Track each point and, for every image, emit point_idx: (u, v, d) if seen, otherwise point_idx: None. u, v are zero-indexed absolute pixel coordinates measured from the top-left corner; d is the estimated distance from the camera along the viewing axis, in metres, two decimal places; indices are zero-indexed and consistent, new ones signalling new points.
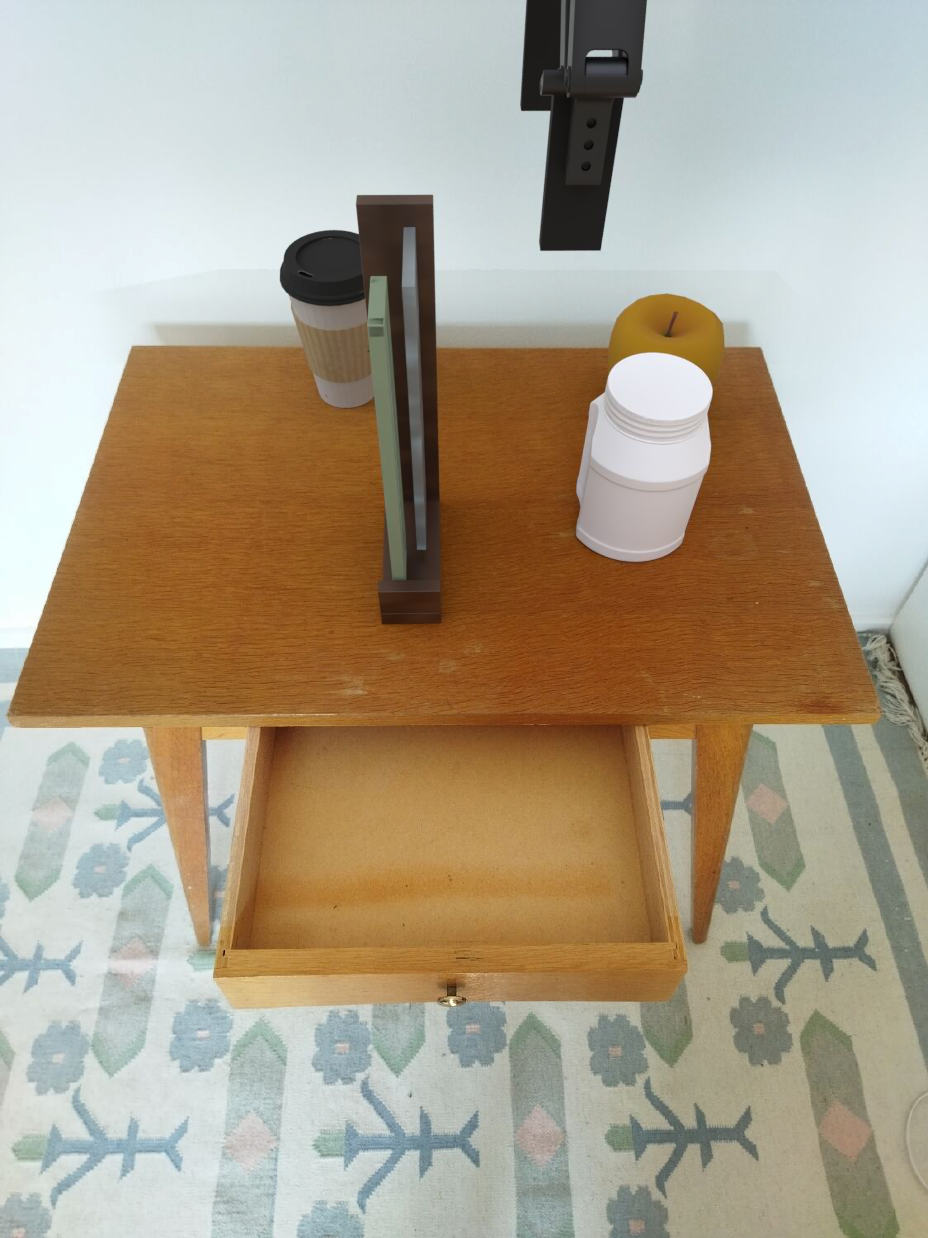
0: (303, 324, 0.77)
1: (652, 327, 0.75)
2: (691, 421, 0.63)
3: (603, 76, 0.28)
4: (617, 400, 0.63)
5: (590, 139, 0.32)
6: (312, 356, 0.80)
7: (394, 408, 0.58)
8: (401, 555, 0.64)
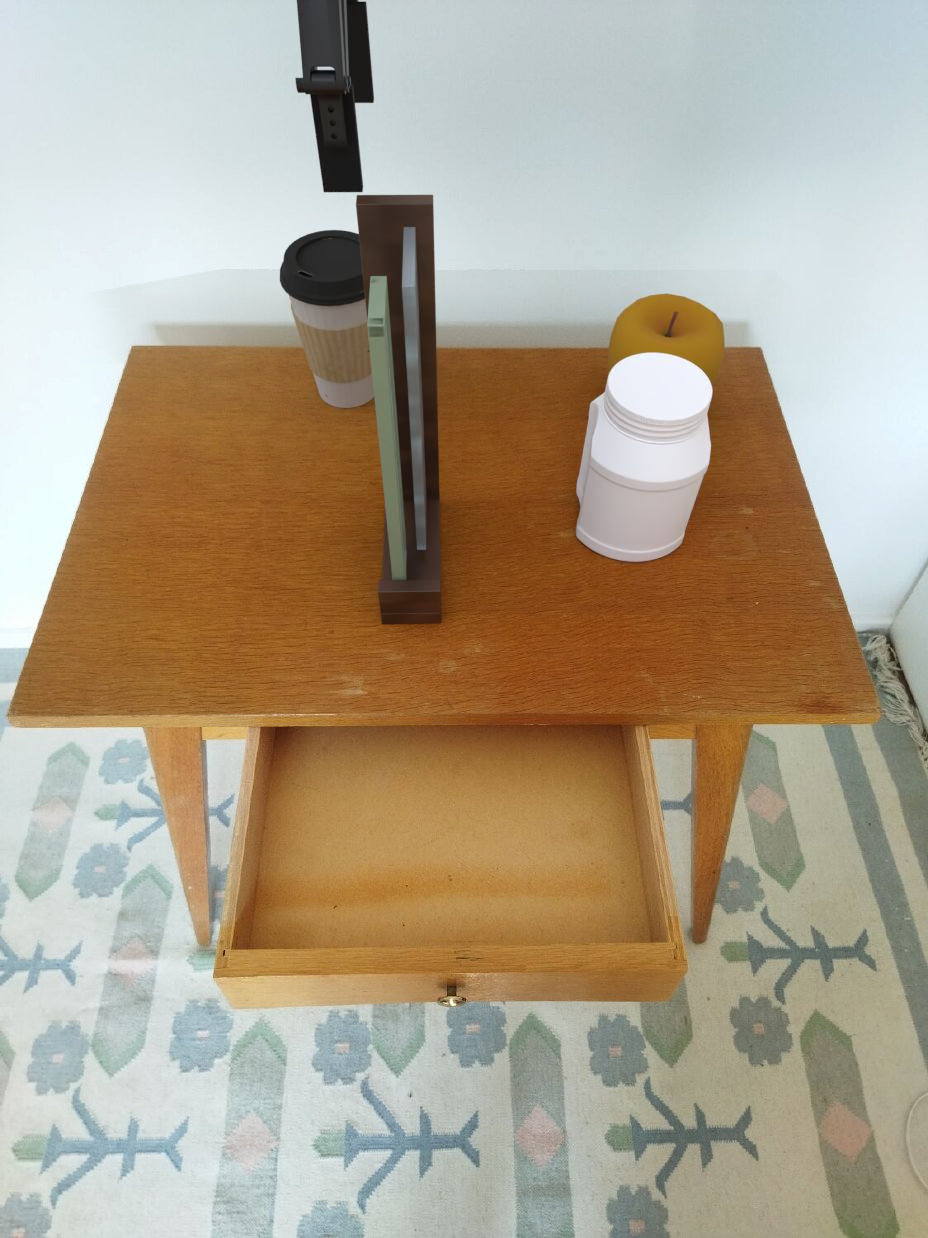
0: (303, 324, 0.77)
1: (652, 327, 0.75)
2: (691, 421, 0.63)
3: (322, 81, 0.49)
4: (617, 400, 0.63)
5: (333, 119, 0.52)
6: (312, 356, 0.80)
7: (394, 408, 0.58)
8: (401, 555, 0.64)
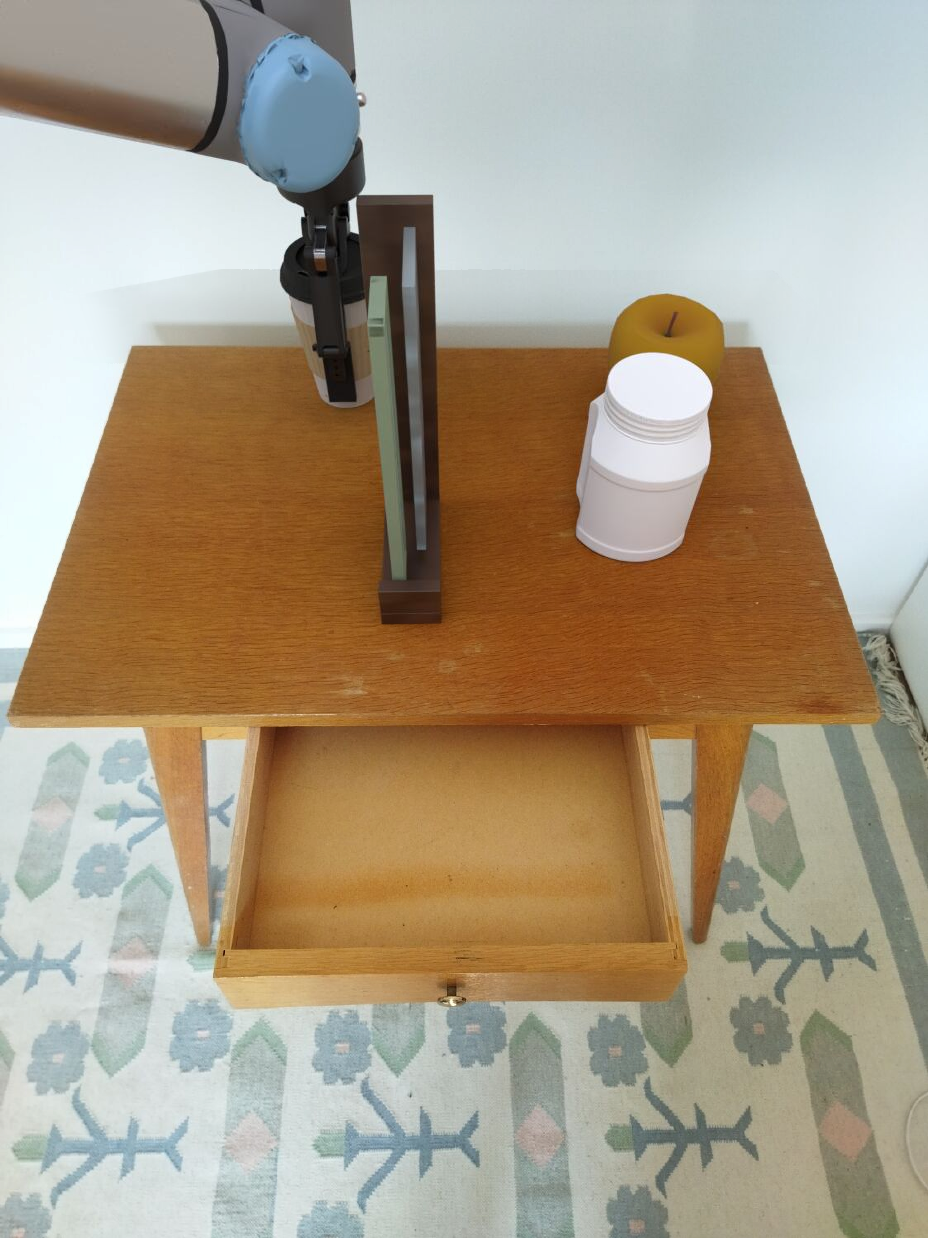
0: (303, 324, 0.77)
1: (652, 327, 0.75)
2: (691, 421, 0.63)
3: (330, 353, 0.74)
4: (617, 400, 0.63)
5: (336, 365, 0.77)
6: (312, 356, 0.80)
7: (394, 408, 0.58)
8: (401, 555, 0.64)
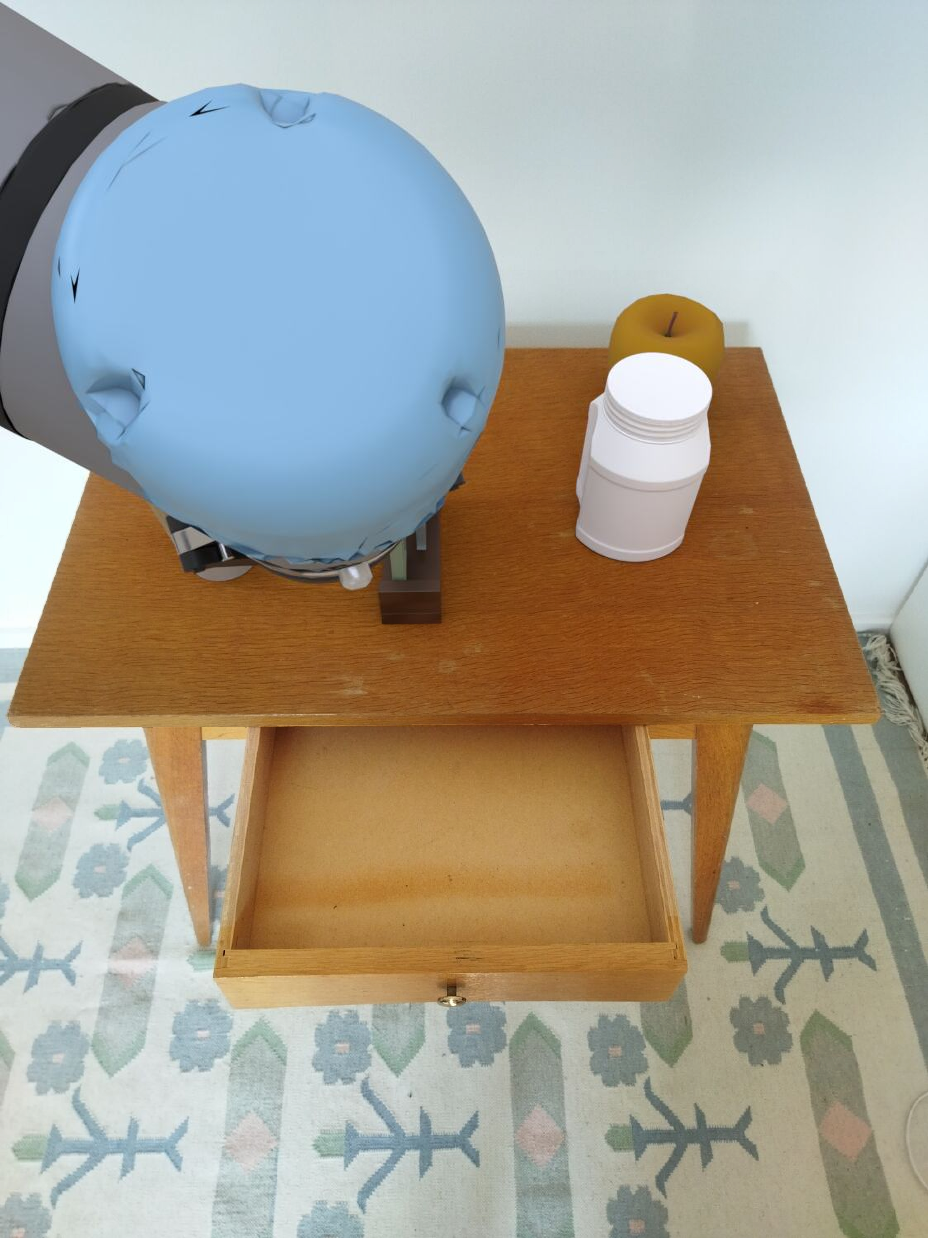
0: (150, 503, 0.63)
1: (652, 327, 0.75)
2: (691, 421, 0.63)
3: None
4: (617, 400, 0.63)
5: None
6: (168, 532, 0.67)
7: None
8: (401, 555, 0.64)
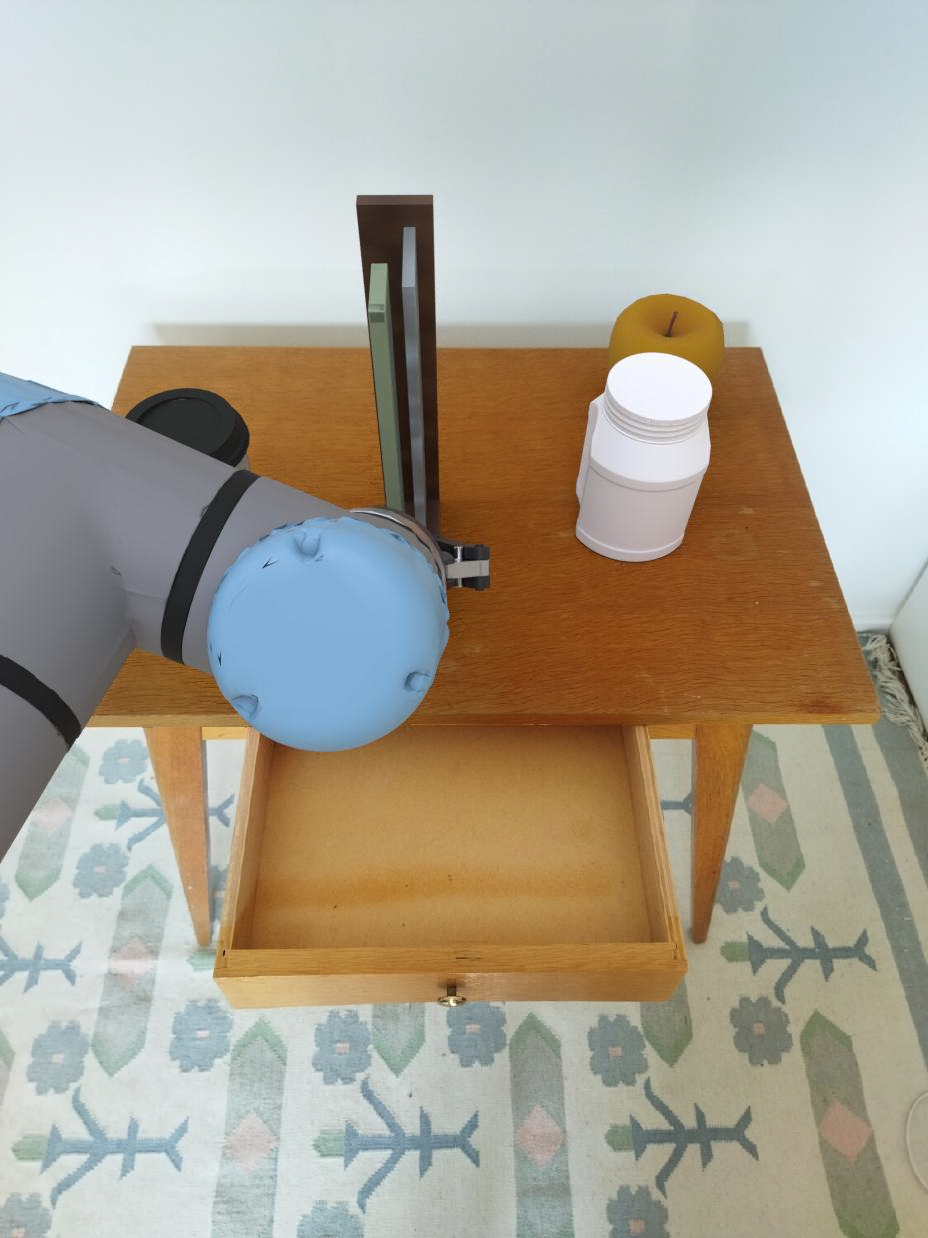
0: None
1: (652, 327, 0.75)
2: (691, 421, 0.63)
3: None
4: (617, 400, 0.63)
5: None
6: None
7: (394, 395, 0.58)
8: None
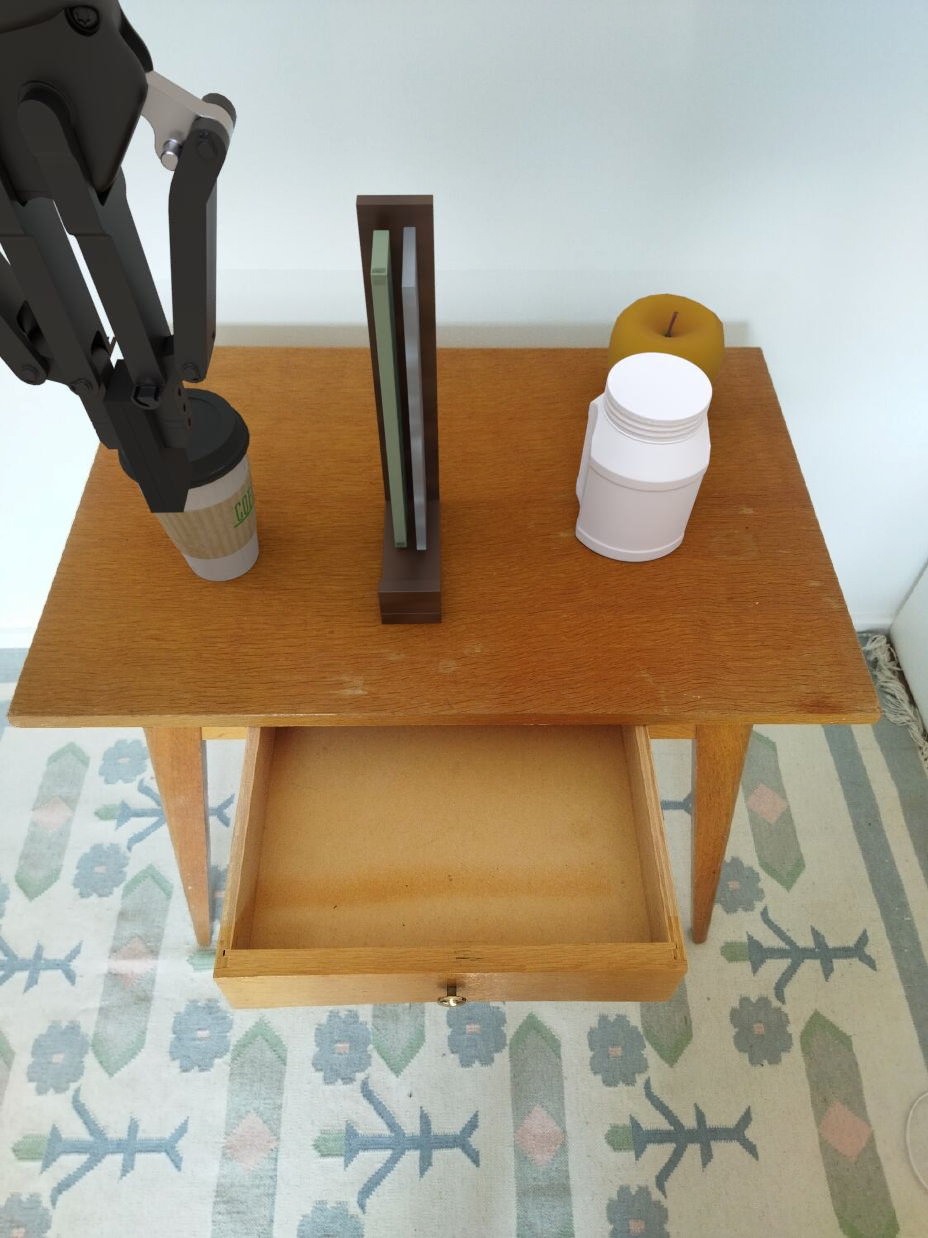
0: None
1: (652, 327, 0.75)
2: (691, 421, 0.63)
3: None
4: (617, 400, 0.63)
5: None
6: (168, 532, 0.67)
7: (396, 361, 0.61)
8: (402, 506, 0.67)
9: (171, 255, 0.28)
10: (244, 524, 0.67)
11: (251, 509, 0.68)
